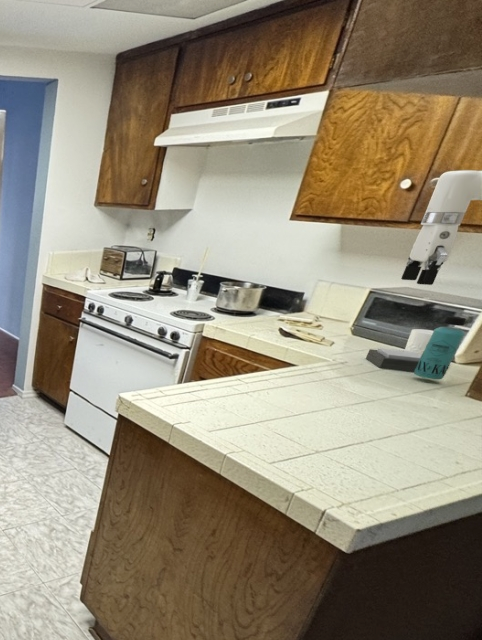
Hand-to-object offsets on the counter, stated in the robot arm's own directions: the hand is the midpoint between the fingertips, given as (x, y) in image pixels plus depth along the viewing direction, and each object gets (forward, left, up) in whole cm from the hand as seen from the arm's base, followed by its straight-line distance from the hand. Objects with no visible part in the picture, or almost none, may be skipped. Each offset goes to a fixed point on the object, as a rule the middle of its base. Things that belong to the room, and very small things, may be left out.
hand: (416, 282), depth 136 cm
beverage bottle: (-12, -2, -30) cm, 32 cm away
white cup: (-20, -31, -30) cm, 48 cm away
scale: (-10, -17, -29) cm, 36 cm away
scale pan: (-10, -17, -26) cm, 33 cm away
